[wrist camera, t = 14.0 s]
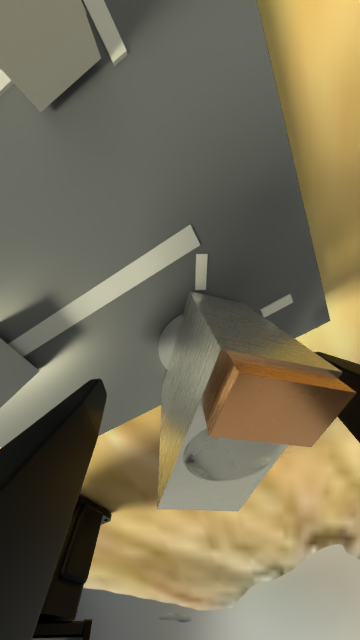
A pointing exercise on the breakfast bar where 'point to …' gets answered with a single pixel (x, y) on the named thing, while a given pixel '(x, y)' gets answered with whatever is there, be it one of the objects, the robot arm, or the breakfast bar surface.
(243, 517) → the breakfast bar surface
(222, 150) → the console
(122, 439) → the breakfast bar surface
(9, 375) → the fader
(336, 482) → the breakfast bar surface
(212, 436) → the dial
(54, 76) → the fader
